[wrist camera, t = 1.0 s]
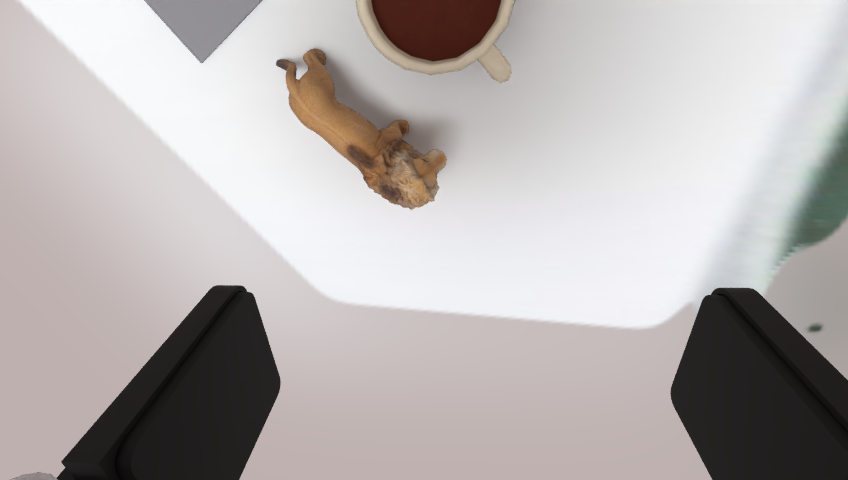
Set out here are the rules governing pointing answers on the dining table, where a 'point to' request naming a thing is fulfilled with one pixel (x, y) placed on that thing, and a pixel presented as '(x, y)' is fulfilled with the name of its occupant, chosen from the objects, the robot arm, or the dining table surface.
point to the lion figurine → (363, 138)
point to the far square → (202, 21)
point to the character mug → (438, 33)
